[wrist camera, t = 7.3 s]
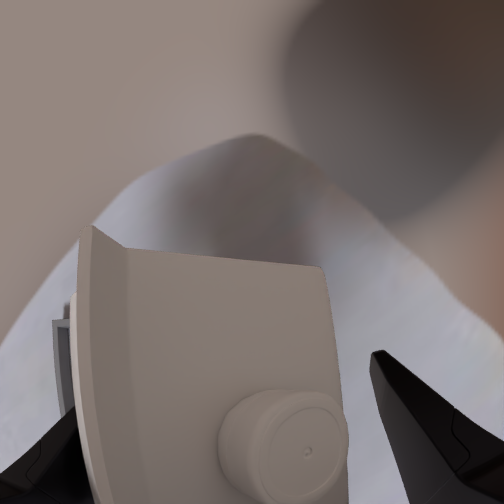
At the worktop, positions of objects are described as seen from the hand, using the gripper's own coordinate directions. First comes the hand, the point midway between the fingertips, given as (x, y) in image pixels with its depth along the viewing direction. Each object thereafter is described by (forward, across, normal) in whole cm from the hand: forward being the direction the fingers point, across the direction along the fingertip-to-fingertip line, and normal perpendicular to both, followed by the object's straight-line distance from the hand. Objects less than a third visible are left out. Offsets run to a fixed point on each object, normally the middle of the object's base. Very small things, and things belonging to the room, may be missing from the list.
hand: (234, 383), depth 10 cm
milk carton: (+8, +1, +9) cm, 12 cm away
